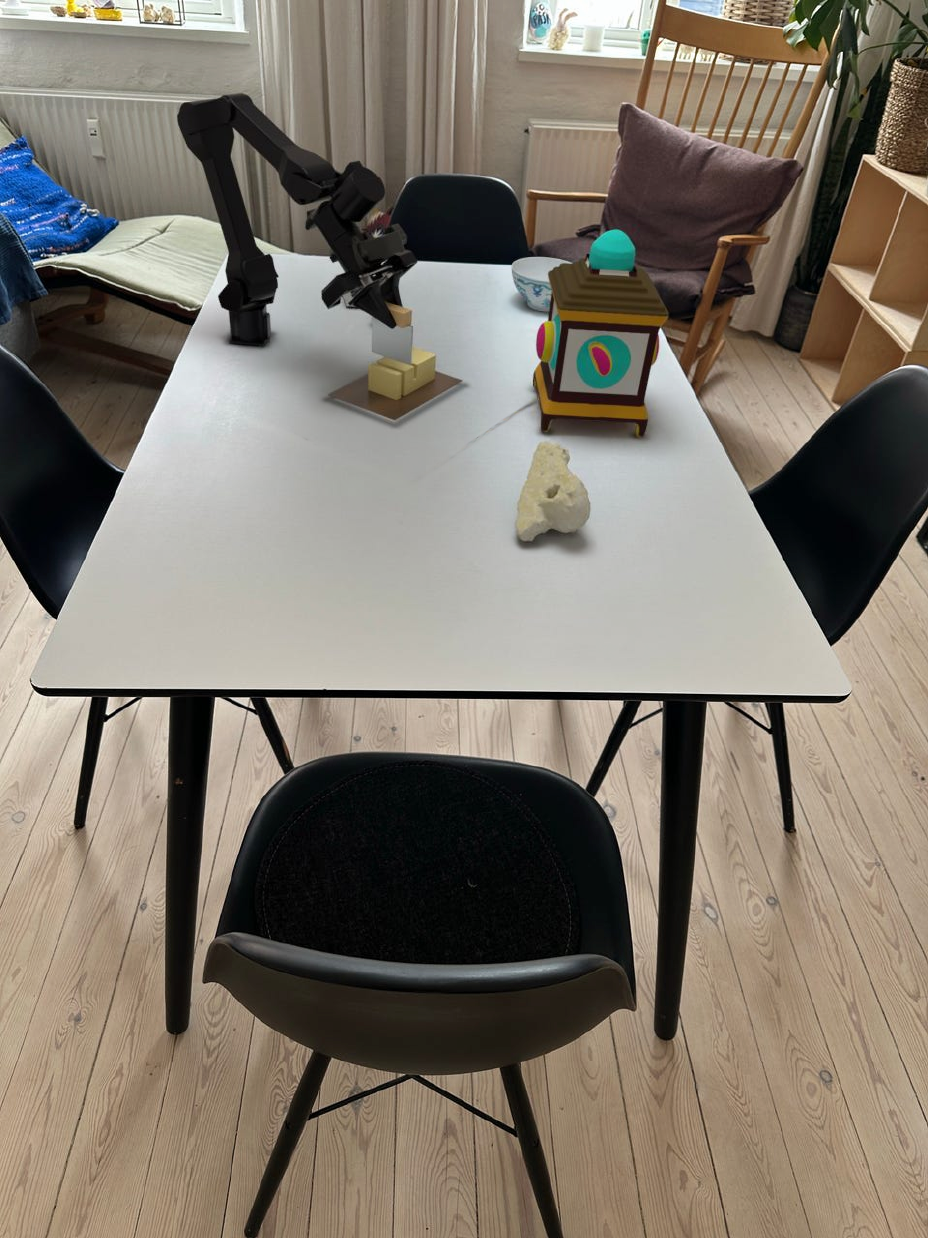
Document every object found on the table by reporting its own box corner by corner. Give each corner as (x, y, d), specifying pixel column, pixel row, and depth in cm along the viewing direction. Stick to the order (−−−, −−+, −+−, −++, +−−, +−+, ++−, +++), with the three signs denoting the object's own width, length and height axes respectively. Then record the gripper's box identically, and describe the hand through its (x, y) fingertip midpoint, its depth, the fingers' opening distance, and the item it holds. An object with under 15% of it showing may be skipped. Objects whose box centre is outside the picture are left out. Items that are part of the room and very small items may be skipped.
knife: (368, 353, 154) (368, 301, 148) (376, 349, 155) (377, 298, 150) (407, 367, 151) (409, 315, 145) (414, 363, 152) (417, 311, 147)
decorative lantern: (634, 390, 166) (669, 214, 147) (654, 443, 150) (696, 255, 131) (523, 384, 164) (544, 206, 146) (532, 437, 149) (557, 246, 130)
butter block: (375, 385, 157) (376, 360, 155) (407, 369, 163) (407, 344, 161) (404, 396, 155) (405, 371, 152) (434, 379, 161) (436, 354, 158)
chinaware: (581, 321, 190) (587, 284, 185) (508, 316, 189) (512, 278, 185) (575, 295, 202) (580, 259, 197) (507, 290, 201) (510, 254, 196)
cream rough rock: (568, 574, 124) (634, 485, 124) (536, 543, 119) (604, 451, 120) (508, 546, 136) (568, 465, 137) (477, 517, 132) (539, 434, 133)
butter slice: (368, 389, 156) (368, 364, 153) (372, 387, 157) (372, 362, 154) (396, 400, 154) (397, 375, 151) (401, 398, 154) (401, 372, 152)
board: (327, 399, 154) (327, 394, 154) (398, 363, 168) (399, 357, 167) (394, 425, 149) (394, 420, 148) (462, 385, 162) (463, 380, 162)
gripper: (334, 220, 134) (394, 315, 136) (410, 196, 146) (463, 284, 149) (295, 262, 142) (352, 351, 144) (370, 236, 154) (421, 318, 157)
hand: (399, 325), depth 149 cm, fingers closed on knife, 2 cm apart
